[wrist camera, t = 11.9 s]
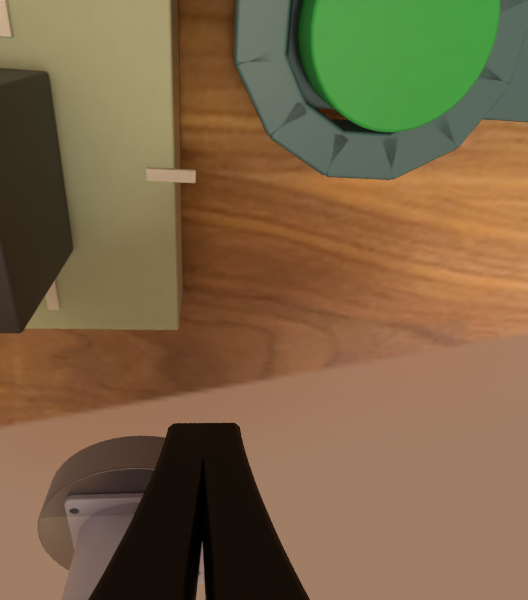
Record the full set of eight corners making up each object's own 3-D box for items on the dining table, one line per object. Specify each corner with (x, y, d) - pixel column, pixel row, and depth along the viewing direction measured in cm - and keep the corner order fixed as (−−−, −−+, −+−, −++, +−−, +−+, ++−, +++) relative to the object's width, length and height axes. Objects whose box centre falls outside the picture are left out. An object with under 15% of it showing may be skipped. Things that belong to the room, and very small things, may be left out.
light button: (438, 124, 12) (468, 138, 11) (289, 114, 12) (299, 127, 10) (485, -66, 10) (531, -81, 9) (308, -86, 10) (325, -106, 8)
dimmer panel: (198, 295, 18) (195, 333, 16) (-50, 290, 17) (-90, 331, 15) (199, -47, 13) (195, -62, 11) (-165, -85, 12) (-256, -110, 10)
